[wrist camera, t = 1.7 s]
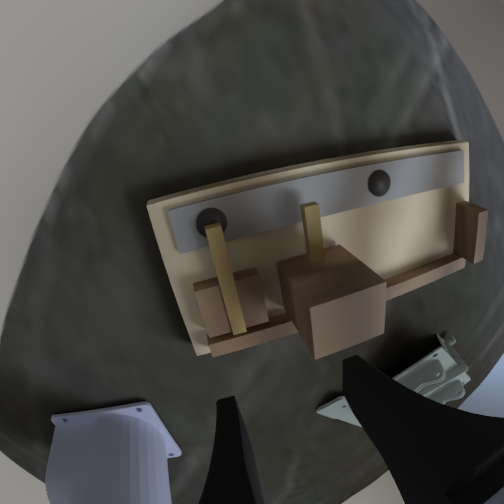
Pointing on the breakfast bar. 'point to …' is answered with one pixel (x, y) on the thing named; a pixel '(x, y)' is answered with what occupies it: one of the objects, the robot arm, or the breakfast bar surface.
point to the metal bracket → (419, 381)
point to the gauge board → (333, 232)
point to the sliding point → (330, 293)
